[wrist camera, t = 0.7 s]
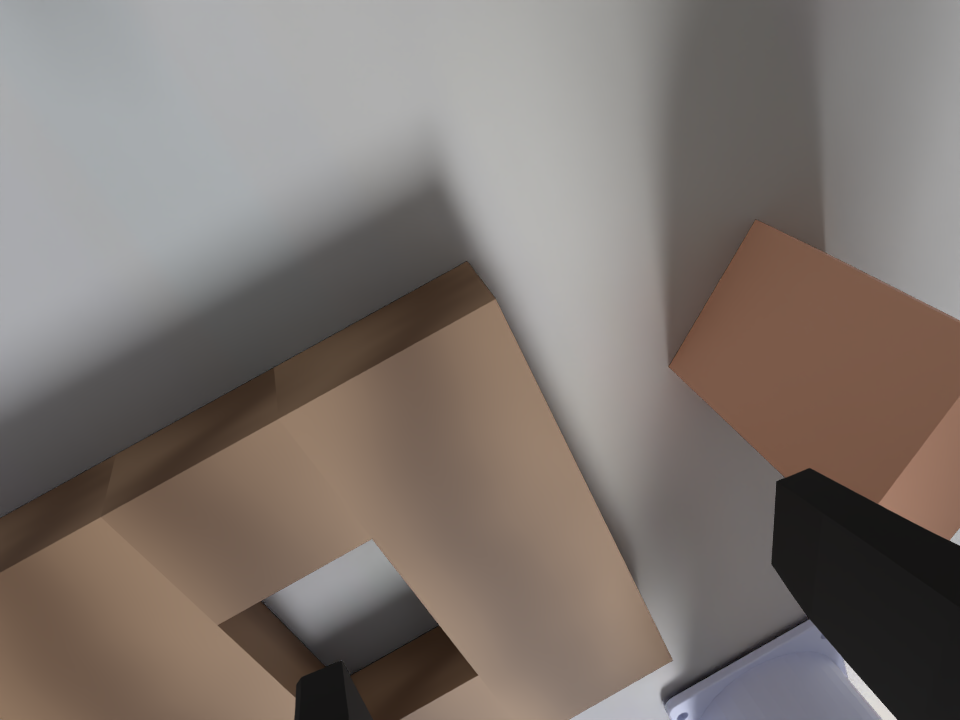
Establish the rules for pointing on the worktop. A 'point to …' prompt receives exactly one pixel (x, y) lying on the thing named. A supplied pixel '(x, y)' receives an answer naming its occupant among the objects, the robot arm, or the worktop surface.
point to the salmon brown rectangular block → (833, 375)
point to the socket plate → (331, 540)
